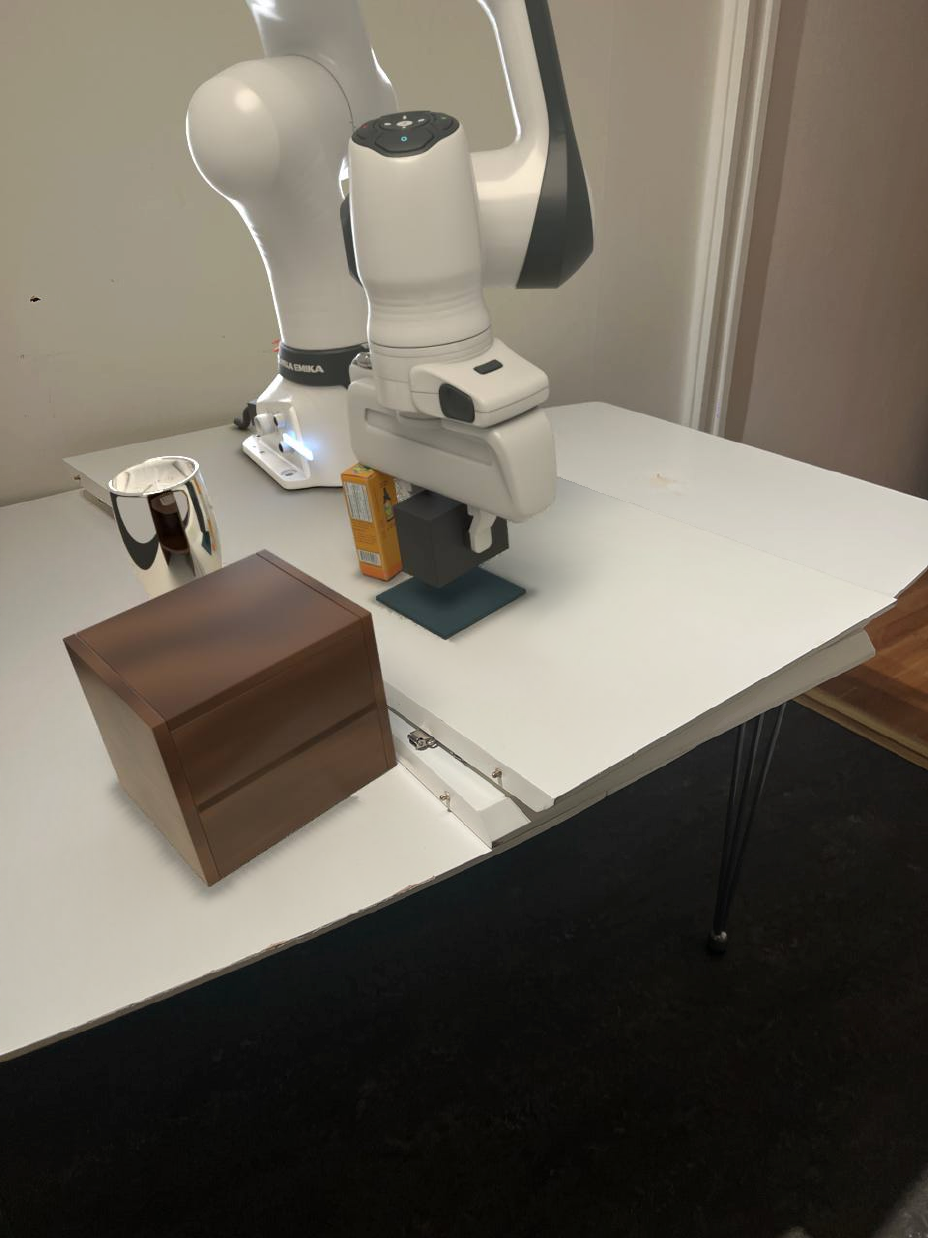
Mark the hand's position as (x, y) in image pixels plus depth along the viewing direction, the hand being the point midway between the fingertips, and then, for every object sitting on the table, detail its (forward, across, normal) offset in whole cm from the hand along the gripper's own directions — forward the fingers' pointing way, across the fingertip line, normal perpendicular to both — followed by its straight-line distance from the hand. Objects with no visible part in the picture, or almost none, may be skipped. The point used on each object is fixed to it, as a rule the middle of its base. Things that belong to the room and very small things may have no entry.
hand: (453, 537), depth 73 cm
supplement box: (+6, -9, -1) cm, 10 cm away
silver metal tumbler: (+6, -11, -18) cm, 22 cm away
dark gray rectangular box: (+2, 0, 0) cm, 2 cm away
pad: (+6, -1, -1) cm, 6 cm away
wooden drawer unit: (+6, +6, -24) cm, 25 cm away
